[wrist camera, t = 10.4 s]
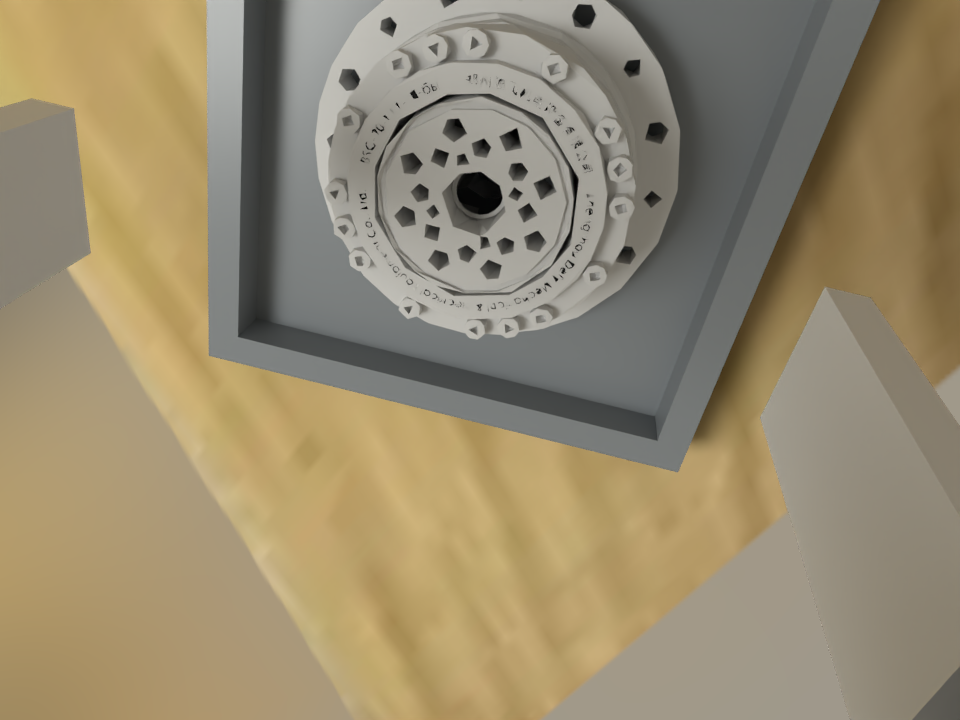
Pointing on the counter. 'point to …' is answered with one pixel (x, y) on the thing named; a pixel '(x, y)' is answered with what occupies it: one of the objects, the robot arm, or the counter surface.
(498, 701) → the counter surface
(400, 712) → the counter surface
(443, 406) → the dock tray
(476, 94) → the mechanical component
